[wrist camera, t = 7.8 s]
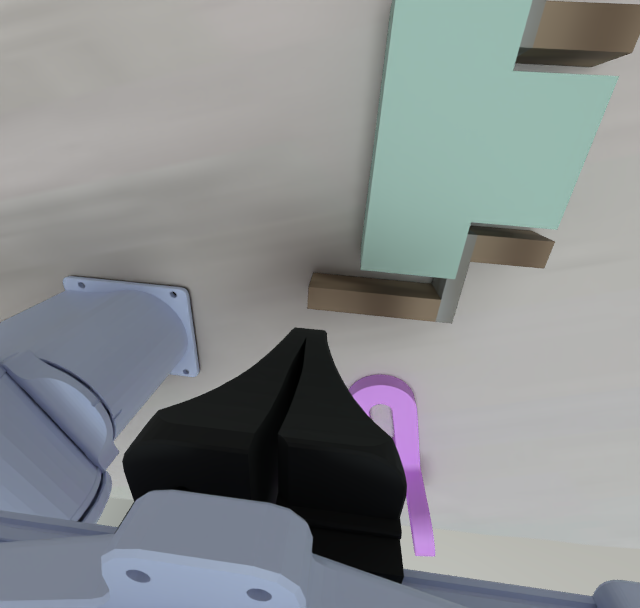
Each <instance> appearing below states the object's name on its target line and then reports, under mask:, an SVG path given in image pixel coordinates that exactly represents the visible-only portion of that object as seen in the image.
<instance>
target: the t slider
mask: <svg viewBox="0 0 640 608" xmlns="http://www.w3.org/2000/svg"><path fill="white" fill-rule="evenodd" d="M531 4H532V0H392V4H391V10H390V18H389V26H388V34H387V42H386V50H385V58H384V66H383V74H382V82H381V90H380V98H379V106H378V114H377V122H376V130H375V138H374V146H373V154H372V162H371V170H370V178H369V186H368V194H367V202H366V210H365V218H364V226H363V234H362V242H361V270H366V271H376V272H386V273H396V274H406V275H416V276H427V277H437V278H447V279H455V278H456V274H457V271H458V267H459V264H460V260H461V256H462V253H463V249H464V246H465V242H466V238H467V235H468V231H469V228H470V224H471V222H475V223H486V224H498V225H510V226H521V227H533V228H545V229H556V230H557V229H558V226H559V224H560V221H561V219H562V216H563V214H564V211H565V209H566V206H567V204H568V201H569V199H570V196H571V194H572V191H573V189H574V187H575V184H576V182H577V179H578V177H579V174H580V172H581V169H582V167H583V164H584V162H585V159H586V157H587V154H588V152H589V149H590V147H591V144H592V142H593V139H594V137H595V135H596V132H597V130H598V127H599V125H600V122H601V120H602V117H603V115H604V112H605V110H606V107H607V105H608V102H609V100H610V97H611V95H612V92H613V90H614V87H615V85H616V83H617V80H618V78H619V76H602V75H582V74H562V73H542V72H522V71H513V69H514V65H515V62H516V58H517V54H518V51H519V47H520V44H521V40H522V36H523V33H524V29H525V26H526V22H527V18H528V15H529V11H530V7H531Z"/></svg>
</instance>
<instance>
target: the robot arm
mask: <svg viewBox="0 0 640 608" xmlns="http://www.w3.org/2000/svg"><path fill="white" fill-rule="evenodd" d="M83 284H84V285H85V286H84V285H83ZM63 285H64V288H65V291H64V292H62V293H60V294H58V295H56V296H53V297H51V298H49V299H47V300H45V301H43V302H41V303H39V304H37V305H35V306H33V307H31V308H29V309H27V310H25V311H23V312H21V313H18V314H16V315H14V316H12V317H10V318H8V319H6V320H4V321H2V322H0V608H640V583H639V582H632V581H625V580H610V581H606V582H604V583H602V584H601V585H599V587H598V588H597V589H596V591H595V592H594V594H593V596H587V595H580V594H573V593H566V592H560V591H553V590H546V589H539V588H532V587H525V586H519V585H511V584H504V583H498V582H491V581H484V580H477V579H470V578H463V577H457V576H450V575H442V574H436V573H429V572H422V571H415V570H408V569H403V564H402V554H401V546H400V539H401V533H402V532H401V523H400V515H401V512H402V508H403V505H404V501H405V498H406V494H407V481H406V476H405V472H404V468H403V465H402V462H401V459H400V456H399V453H398V450H397V448H396V445H395V443H394V441H393V439H392V438H391V437H390V436H389V435H388V434H387V433H386V432H384V431H383V430H382V429H381V428H380V427H379V426H378V425H377V424H375V423H374V422H373V420H372V419H371V418H370V417H369V416H368V415H367V414H366V413H365V412H364V410H363V409H362V408H361V407H360V405H359V404H358V403H357V402H356V400H355V399H354V398H353V396H352V395H351V393H350V392H349V390H348V389H347V387H346V385H345V384H344V382H343V380H342V378H341V376H340V375H339V372H338V370H337V368H336V366H335V364H334V361H333V358H332V356H331V353H330V350H329V346H328V342H327V333H326V332H325V330H315V329H304V328H294V329H292V330H291V332H290V333H289V334H288V335H287V336H286V337H285V338H284V339H283V340H282V341H281V342H280V343H279V344H278V345H277V346H276V347H275V348H274V349H273V350H272V351H271V352H270V353H268V354H267V355H266V356H265V357H264V358H262V359H261V360H260V361H259V362H258V363H256V364H255V365H254V366H252V367H251V368H250V369H248V370H247V371H245V372H244V373H242V374H241V375H239V376H238V377H236V378H234V379H232V380H231V381H229V382H227V383H225V384H223V385H221V386H220V387H218V388H216V389H214V390H211V391H209V392H207V393H205V394H202V395H200V396H198V397H195V398H193V399H190V400H188V401H185V402H182V403H179V404H176V405H173V406H170V407H167V408H164V409H161V410H158V411H157V413H156V414H155V415H154V416H153V417H152V418H151V419H150V421H149V422H148V423H147V424H146V425H145V427H144V428H143V429H142V431H141V432H140V433H139V435H138V436H137V437H136V439H135V440H134V441H133V443H132V444H131V445H130V447H129V448H128V449H127V451H126V452H125V454H124V457H123V461H122V462H123V468H124V473H125V476H126V479H127V482H128V484H129V487H130V490H131V493H132V496H133V499H134V503H133V504H132V506H131V508H130V509H129V511H128V512H127V514H126V516H125V517H124V519H123V520H122V522H121V524H120V525H119V527H112V526H105V525H98V524H96V523H97V522H98V520H99V518H100V516H101V514H102V512H103V510H104V508H105V505H106V503H107V501H108V499H109V496H110V492H111V488H112V480H111V476H110V475H109V473H108V472H107V471H106V469H107V468H108V466H109V465H110V464H111V462H112V461H113V460H114V459H115V457H116V456H117V455H118V453H119V450H118V449H117V448H116V446H115V444H114V442H113V441H114V440H115V439H116V437H117V436H118V435H119V434H120V433H121V431H122V430H123V429H124V428H125V427H126V425H127V424H128V423H129V422H130V421H131V419H132V418H133V417H134V416H135V415H136V413H137V412H138V411H139V410H140V409H141V407H142V406H143V405H144V404H145V402H146V401H147V400H148V399H149V398H150V396H151V395H152V394H153V393H154V392H155V390H156V389H157V388H158V387H159V386H160V384H161V383H162V382H163V381H164V380H165V378H166V377H167V376H168V375H169V374H172V375H181V376H189V377H196V376H197V375H198V373H199V363H198V356H197V349H196V342H195V334H194V327H193V320H192V313H191V305H190V298H189V293H188V291H187V290H186V289H185V288H182V287H174V286H164V285H154V284H144V283H134V282H124V281H114V280H105V279H95V278H85V277H75V276H68V277H66V278H64V279H63ZM173 292H175V293H176V294H177V296H175V295H174V294H173ZM185 369H186V370H185ZM187 370H188V371H187Z"/></svg>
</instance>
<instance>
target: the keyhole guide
mask: <svg viewBox="0 0 640 608" xmlns="http://www.w3.org/2000/svg"><path fill="white" fill-rule="evenodd" d="M639 35H640V5H638V4H613V3H588V2H563V1H546V0H532V4H531V7H530V11H529V15H528V18H527V22H526V26H525V29H524V33H523V36H522V40H521V44H520V47H519V51H518V54H517V58H516V62H515V63H524V64H543V65H562V66H581V67H593V66H596V65H599V64H601V63H604V62H607V61H610V60H613V59H616V58H619V57H621V56H624V55H627V54H630V53H632V52H633V49H634V47H635V44H636V42H637V40H638V37H639ZM554 243H555V242H554V241H552V240H550V239H548V238H546V237H544V236H541V235H539V234H537V233H535V232H533V231H527V230H515V229H503V228H491V227H479V226H470V228H469V231H468V235H467V238H466V242H465V246H464V249H463V253H462V256H461V260H460V264H459V267H458V271H457V274H456V278H455V279H447V278H437V277H434V278H433V282H432V284H427V283H416V282H406V281H395V280H385V279H375V278H364V277H354V276H343V275H333V274H322V273H313V275H312V278H311V281H310V284H309V288H308V307H307V309H316V310H326V311H335V312H345V313H355V314H365V315H374V316H384V317H394V318H403V319H413V320H423V321H433V322H442V323H452V322H453V318H454V315H455V311H456V308H457V305H458V301H459V298H460V294H461V291H462V287H463V284H464V281H465V277H466V274H467V270H468V267H469V263H470V262H479V263H490V264H501V265H512V266H523V267H534V268H545V265H546V263H547V260H548V258H549V255H550V253H551V250H552V248H553V246H554Z"/></svg>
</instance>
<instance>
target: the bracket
mask: <svg viewBox="0 0 640 608" xmlns="http://www.w3.org/2000/svg"><path fill="white" fill-rule="evenodd" d="M349 392H350V393H351V395H352V396H353V398H354V399H355V400H356V402H357V403H358V404H359V405H360V407H361V408H362V409H363V410H364V412H365V413H366V414H367V415H368V416H369V417H370V408H371V407H372V406H374V405H376V404H385V405H387V406H389V407H390V408H391V409H392V415H393V425H394V437H393V438H392V439H393V441H394V443H395V445H396V448H397V450H398V453H399V456H400V459H401V462H402V465H403V468H404V472H405V476H406V481H407V494H406V498H407V505H408V512H409V518H410V525H411V532H412V538H413V544H414V551H415V556H435V545H434V537H433V530H432V524H431V518H430V513H429V508H428V503H427V498H426V493H425V488H424V484H423V479H422V474H421V468H420V456H419V437H418V419H417V407H416V403H415V399H414V395H413V392H412V390H411V389H410V387H409V386H408V385H407V384H406V383H405V382H403V381H402V380H400V379H398V378H396V377H393V376H389V375H371V376H367V377H364V378H362V379H360V380H358V381H357V382H355V383H354V384H353V385H352V386H351V387H350V389H349ZM370 418H371V417H370Z"/></svg>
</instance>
